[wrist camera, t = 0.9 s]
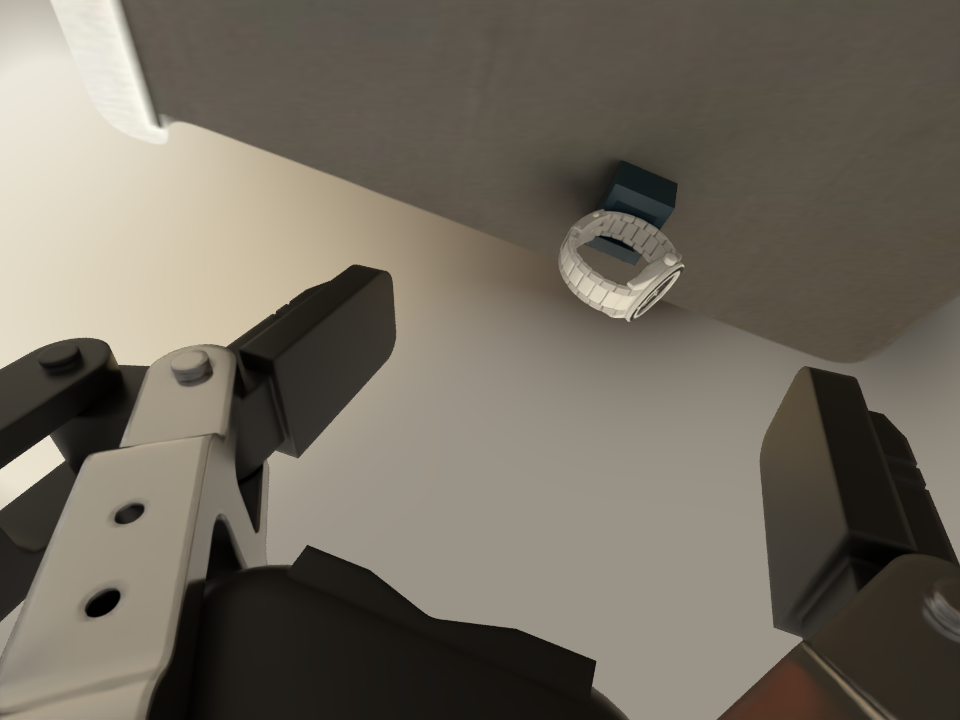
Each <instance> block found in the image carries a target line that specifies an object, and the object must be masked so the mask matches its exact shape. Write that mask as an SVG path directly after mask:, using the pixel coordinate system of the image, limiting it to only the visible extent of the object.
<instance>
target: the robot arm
mask: <svg viewBox="0 0 960 720" xmlns="http://www.w3.org/2000/svg"><path fill="white" fill-rule="evenodd" d="M395 340H396V324H395V310H394V294H393V282H392V277H391V275H390V274H389V273H388V272H387V271H383V270H379V269H374V268H370V267H365V266H361V265H352V266H350V267H349V268H347V269H346V270H345V271H343V272H342V273H341V274H339V275H338V276H337V277H335V278H334V279H332V280H331V281H328V282H325V283H323V284H320V285H317V286H315V287H312V288H309V289H307V290H305V291H304V292H303V293H301V294H299V295H298V296H297V297H295V298H294V299H293V300H291V301H290V303H289V305H288V304H286V305H284V306H283V307H281V308H280V309H278V310H277V311H276V314H272V315H270V316H269V317H267V318H266V319H265V320H263V321H262V322H260V323H259V324H258V325H256V326H255V327H253V328H252V329H251V330H249V331H248V332H246V333H245V334H244V335H242V336H241V337H239V338H238V339H237V340H235V341H234V342H233V343H231V344H230V345H228V346H227V347H223V346H219V345H212V344H209V345H208V344H204V345H194V346H189V347H184V348H181V349H178V350H175V351H173V352H170V353H168V354H167V355H165V356H163V357H161V358H160V359H158V360H157V361H155V362H154V363H153V364H152V365H151V366H130V365H118V363H117V361H116V359H115V357H114V355H113V353H112V351H111V349H110V347H109V345H108V344H107V343H106V342H104V341H102V340H99V339H94V338H76V339H68V340H63V341H59V342H55V343H52V344H49V345H46V346H44V347H41V348H39V349H37V350H35V351H33V352H31V353H29V354H27V355H25V356H24V357H22V358H20V359H18V360H17V361H15V362H13V363H11V364H9V365H7V366H6V367H4V368H2V369H0V469H1V468H3V467H4V466H6V465H7V464H8V463H10V462H11V461H13V460H14V459H15V458H17V457H18V456H20V455H21V454H22V453H24V452H25V451H27V450H28V449H30V448H31V447H32V446H34V445H35V444H37V443H38V442H40V441H41V440H42V439H44V438H45V437H47V436H48V435H50V437H51V438H52V440H53V441H54V443H55V444H56V446H57V447H58V449H59V451H60V452H61V454H62V455H63V457H64V458H65V461H64V462H63V463H62V464H60V465H59V466H58V467H56V468H55V469H54V470H53V471H51V472H50V473H49V474H48V475H46V476H45V477H43V478H42V479H41V480H40V481H38V482H37V483H35V484H34V485H33V486H32V487H30V488H29V489H28V490H26V491H25V492H24V493H22V494H21V495H20V496H19V497H17V498H16V499H15V500H13V501H12V502H11V503H9V504H8V505H7V506H6V507H4V508H3V509H2V510H0V622H1V621H2V620H3V619H4V618H5V617H6V616H7V615H8V614H9V613H10V612H11V611H13V609H15V608H16V607H17V606H18V605H19V604H20V603H21V602H22V601H23V600H24V599H25V598H26V599H25V601H24V604H23V606H22V608H21V611H20V613H19V615H18V618H17V620H16V622H15V625H14V627H13V630H12V632H11V634H10V637H9V639H8V641H7V644H6V646H5V648H4V651H3V653H2V656H1V658H0V720H629V719H628V717H627V716H626V715H625V714H624V713H623V712H622V711H621V710H620V709H619V708H617V707H616V706H615V705H614V704H613V703H612V702H611V701H610V700H609V699H608V698H607V697H605V696H604V695H603V694H602V693H600V692H599V691H598V690H596V689H595V688H594V687H592V683H593V677H594V672H595V666H596V661H595V660H593V659H590V658H588V657H585V656H583V655H580V654H578V653H575V652H573V651H570V650H568V649H565V648H563V647H560V646H558V645H555V644H553V643H550V642H547V641H545V640H543V639H540V638H538V637H535V636H533V635H530V634H528V633H525V632H523V631H520V630H518V629H513V628H505V627H497V626H489V625H481V624H473V623H465V622H457V621H449V620H441V619H436V618H433V617H430V616H428V615H427V614H425V613H424V612H422V611H421V610H420V609H419V608H417V607H416V606H415V605H414V604H412V603H411V602H410V601H409V600H407V599H406V598H405V597H403V596H402V595H401V594H400V593H398V592H397V591H396V590H395V589H393V588H392V587H391V586H389V585H388V584H387V583H386V582H384V581H383V580H382V579H380V578H379V577H378V576H377V575H375V574H374V573H373V572H372V571H370V570H368V569H366V568H363V567H361V566H358V565H356V564H353V563H351V562H348V561H346V560H343V559H341V558H338V557H336V556H333V555H331V554H328V553H326V552H323V551H321V550H319V549H316V548H314V547H311V546H309V545H307V546H306V548H305V549H304V550H303V552H302V553H301V554H300V556H299V557H298V558H297V560H296V561H295V562H294V564H293V565H268V564H267V556H266V533H267V510H268V487H269V465H268V462H267V458H268V457H269V456H270V455H271V454H272V453H273V452H274V451H275V450H276V451H279V452H281V453H284V454H287V455H290V456H293V457H296V458H299V457H300V456H301V455H302V454H303V453H304V451H305V450H306V449H307V448H308V447H309V446H310V445H311V444H312V443H313V442H314V440H315V439H316V438H317V437H318V436H319V435H320V434H321V433H322V432H323V430H324V429H325V428H326V427H327V426H328V425H329V424H330V423H331V422H332V420H333V419H334V418H335V417H336V416H337V415H338V414H339V413H340V412H341V411H342V409H343V408H344V407H345V406H346V405H347V404H348V403H349V402H350V401H351V400H352V398H353V397H354V396H355V395H356V394H357V393H358V392H359V391H360V390H361V389H362V387H363V386H364V385H365V384H366V383H367V382H368V381H369V380H370V379H371V377H372V376H373V375H374V374H375V373H376V372H377V371H378V370H379V369H380V368H381V366H382V365H383V364H384V363H385V362H386V361H387V360H388V359H389V357H390V355H391V353H392V351H393V348H394V344H395ZM916 465H917V462H916V460H915V457H914V455H913V453H912V450H911V448H910V445H909V443H908V440H907V438H906V437H905V436H904V435H903V434H902V433H901V432H900V431H899V430H898V429H897V428H896V427H895V426H894V425H893V424H892V423H891V422H890V421H889V420H888V418H887V417H886V416H885V415H884V414H881V413H877V412H872V411H868V408H867V406H866V403H865V400H864V397H863V394H862V391H861V388H860V386H859V383H858V381H857V379H856V378H855V377H852V376H847V375H842V374H838V373H834V372H830V371H825V370H821V369H816V368H811V367H807V366H804V367H803V368H801V369H800V370H799V371H798V373H797V374H796V376H795V378H794V380H793V382H792V384H791V385H790V387H789V390H788V391H787V393H786V395H785V397H784V399H783V401H782V403H781V405H780V407H779V408H778V410H777V412H776V414H775V416H774V418H773V420H772V422H771V424H770V426H769V428H768V430H767V432H766V435H765V437H764V440H763V443H762V448H761V453H760V472H761V483H762V495H763V507H764V518H765V529H766V530H765V531H766V542H767V553H768V565H769V577H770V588H771V589H770V590H771V601H772V613H773V624H774V628H777V629H780V630H783V631H785V632H788V633H791V634H794V635H797V636H800V637H802V638H803V641H802V642H800V643H799V644H798V645H797V646H796V647H794V648H793V649H792V650H791V651H790V652H789V653H788V654H787V655H786V656H785V657H784V658H782V659H781V660H780V661H779V662H778V663H777V664H776V665H775V666H774V667H773V668H772V669H771V670H770V671H768V672H767V673H766V674H765V675H764V676H763V677H762V678H761V679H760V680H759V681H758V682H757V683H756V684H755V685H754V686H752V687H751V688H750V689H749V690H748V691H747V692H746V693H745V694H744V695H743V696H742V697H741V698H740V699H738V700H737V701H736V702H735V703H734V704H733V705H732V706H731V707H730V708H729V709H728V710H727V711H726V712H725V713H723V714H722V715H721V716H720V717H719V718H718V719H717V720H960V564H959V562H958V560H957V557H956V555H955V552H954V550H953V548H952V545H951V543H950V540H949V538H948V536H947V533H946V531H945V529H944V526H943V524H942V522H941V519H940V517H939V514H938V512H937V509H936V507H935V505H934V502H933V500H932V498H931V495H930V493H929V490H926V489H925V486H926V483H925V481H924V479H923V476H922V474H921V471H920V469H919V468H916Z"/></svg>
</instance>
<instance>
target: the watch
mask: <svg viewBox="0 0 960 720" xmlns="http://www.w3.org/2000/svg"><path fill="white" fill-rule="evenodd" d="M676 192H677V184H676V183H673V182H671V181H669V180H666V179H664V178H662V177H659V176H657V175H655V174H652V173H650V172H648V171H645V170H643V169H641V168H638V167H636V166H634V165H631V164H629V163H627V162H624V161H621V163H620V165H619V167H618V169H617V171H616V172H615V174H614V176H613V178H612V180H611V182H610V184H609V185H608V187H607V189H606V191H605V193H604V195H603V197H602V198H601V200H600V202H599V204H598V206H597V208H596V210H595V211H594V212H592V213H590V214H588V215H586V216H584V217H583V218H581V219H580V220H579V221H577V222H576V223H575V224H574V225H573V226H572V227H571V229H570V231H569V232H568V234H567V236H566V238H565V240H564V242H563V244H562V246H561V248H560V251H561V253H560V256H559V259H558V263H559V269H560V272H561V274H562V277H563V279H564V281H565V282H566V284H568V287H569V288H570V289H571V291H572V292H573V293H574V294H575V295H577V296H578V297H579V298H580V299H581V300H582V301H584V302H585V303H587V304H589V305H590V306H592V307H593V308H595V309H597V310H601V311H602V312H605V313H607V314H608V315H609V316H610V317H614V318H624V317H626V320H627V321H629V322H630V321H633V320H634V319H636V318H638V317H639V316H641V315H642V314H643V313H644V312H645V311H647V310H648V309H649V308H650V307H651V306H652V305H653V304H655V303H656V302H657V300H659V299H660V298H661V297H662V296H663V295H664V294H665V293H666V291H667V290H668V289H669V288H670V287H671V286H672V285H673V283H674V282H675V281H676V280H677V278H678V277H679V276H680V274H681V273H682V271H683V268H684V265H683V264H682V263H680V260H681V254H680V253H678V252H677V251H676V250H675V247H674V246H673V244H672V243H671V242H670V241H669V240H668V238H667V237H666V236H665V235H664V234H663V233H662V232H660V231H659V230H660V229H661V227H662V226H663V224H664V223H665V221H666V220H667V219H668V217H669V216H670V214H671V213H672V211H673V210H674V208H675V200H676ZM582 244H585V245H587V246H590V247H592V248H594V249H597V250H599V251H601V252H604V253H606V254H609V255H611V256H613V257H616V258H618V259H620V260H623V261H625V262H627V263H630V264H632V265H634V266H635V265H636V263H637V262H638V260H639V259H640V257H641V256H642V255H643V257H644V258H645V259H646V260H647V261H648V262H649V263H650V264H649V265H648V266H646V267H645V268H644V269H643V270H642V271H641V272H640V273H639V274H638V275H637V276H636V277H635V278H634V279H632V280H630V281H629V282H628V283H627V286H623V285H620V284H618V285H617V284H616V283H615V282H612V281H610V280H608V279H604V278H603V276H601V275H599V274H598V273H597V272H595V271H592V268H591V267H589V266H588V265H587V264H586V263H585V262H583V259H582V258H581V257H580V255H579V254H578V253H577V250H576V248H577V247H579V246H580V245H582ZM591 271H592V272H591ZM603 279H604V280H603ZM601 282H602V283H601ZM595 283H596V284H595ZM594 285H595V286H594ZM593 286H594V287H593ZM592 288H593V289H592ZM590 291H591V292H590ZM589 293H590V294H589ZM590 299H591V300H590ZM588 302H589V303H588Z"/></svg>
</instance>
